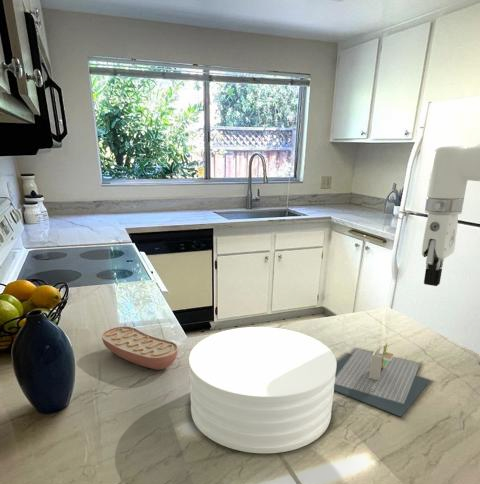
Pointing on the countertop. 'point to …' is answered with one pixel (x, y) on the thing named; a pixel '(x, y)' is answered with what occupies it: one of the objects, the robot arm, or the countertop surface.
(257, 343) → the plate stack
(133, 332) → the mitochondrion model
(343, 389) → the mat
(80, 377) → the countertop surface
